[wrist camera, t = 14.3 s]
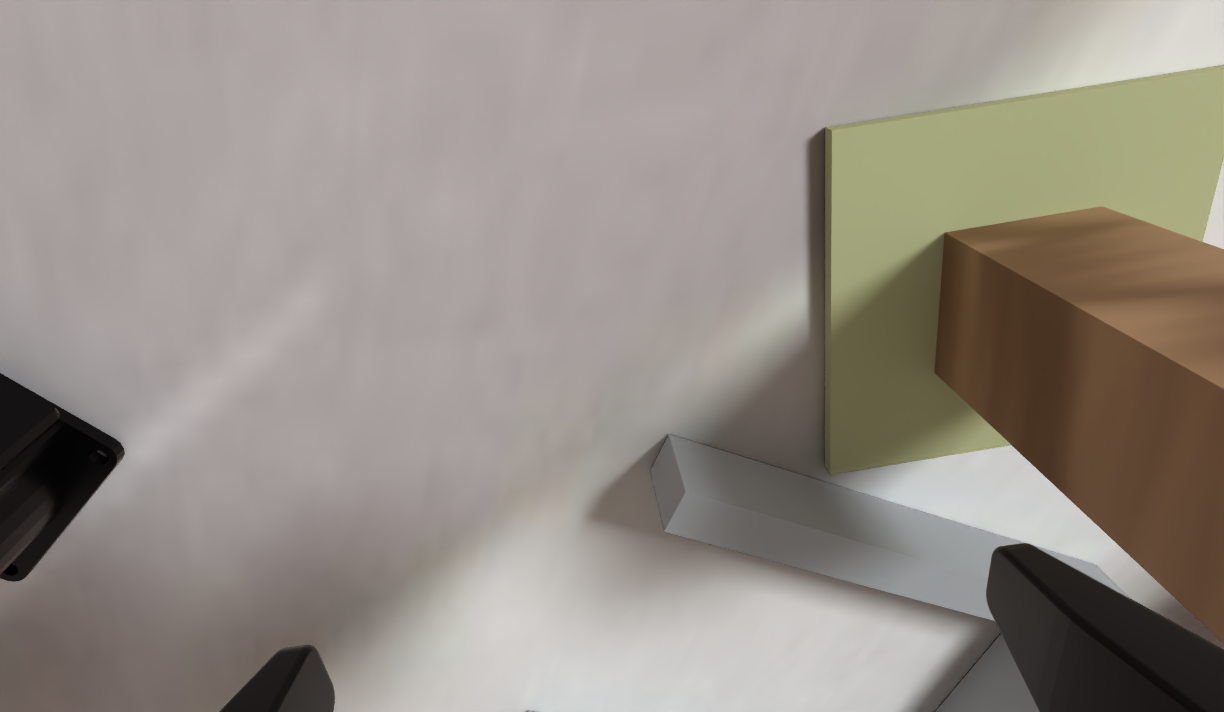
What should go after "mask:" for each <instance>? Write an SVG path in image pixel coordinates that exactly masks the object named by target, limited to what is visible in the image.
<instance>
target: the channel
mask: <svg viewBox="0 0 1224 712" xmlns="http://www.w3.org/2000/svg"><path fill="white" fill-rule="evenodd" d="M650 473H651V477H652V481H653V486H654V490H655V494H656V499H657V503H658V507H659V512H660V516H661V521H662V525H663V529H664V532H666V533H670V534H674V535H677V536H681V537H685V538H689V539H692V540H696V541H700V542H703V543H707V544H711V545H715V546H718V547H722V548H726V549H729V550H733V551H737V552H741V553H744V554H748V555H752V556H755V557H759V558H763V559H767V560H770V561H774V562H778V563H781V564H785V565H789V566H792V567H796V568H800V569H804V570H807V571H811V572H815V573H818V574H822V575H826V576H830V577H833V578H837V579H841V580H844V581H848V582H852V583H856V584H859V585H863V586H867V587H870V588H874V589H878V590H882V591H885V592H889V593H893V594H896V595H900V596H904V597H908V598H911V599H915V600H919V601H922V602H926V603H930V604H934V605H937V606H941V607H945V608H948V609H952V610H956V611H960V612H963V613H967V614H971V615H974V616H978V617H982V618H985V619H989V620H993V621H995V620H994V618H993V616H992V614H991V612H990V610H989V607H988V604H987V600H986V587H987V581H988V575H989V569H990V563H991V557H992V553H993V551H994V550H995V549H996V548H997V547H999V546H1006V545H1013V544H1020V543H1022V542H1019V541H1016V540H1013V539H1009V538H1006V537H1003V536H1000V535H996V534H993V533H990V532H986V531H983V530H980V529H977V528H973V527H970V526H967V525H964V524H960V523H957V522H954V521H951V520H947V519H944V518H941V517H938V516H934V515H931V514H928V513H925V512H921V511H918V510H915V509H911V508H908V507H905V506H902V505H898V504H895V503H892V502H889V501H885V500H882V499H879V498H876V497H872V496H869V495H866V494H863V493H859V492H856V491H853V490H850V489H846V488H843V487H840V486H836V485H833V484H830V483H827V482H823V481H820V480H817V479H814V478H810V477H807V476H804V475H801V474H797V473H794V472H791V471H788V470H784V469H781V468H778V467H775V466H771V465H768V464H765V463H761V462H758V461H755V460H752V459H748V458H745V457H742V456H739V455H735V454H732V453H729V452H726V451H722V450H719V449H716V448H713V447H709V446H706V445H703V444H700V443H696V442H693V441H690V440H686V439H683V438H680V437H677V436H673V435H670V434H669V435H668V437H667V439H666V441H665V443H664V445H663V447H662V448H661V450H660V452H659V454H658V456H657V458H656V460H655V462H654V464H653V466H652V468H651V470H650ZM1037 548H1038V549H1040V550H1042V551H1044V552H1046V553H1048V554H1049V555H1051V556H1053V557H1055V558H1057V559H1059V560H1060V561H1062V562H1064V563H1066V564H1068V565H1070V566H1071V567H1073V568H1075V569H1077V570H1079V571H1081V572H1082V573H1084V574H1086V575H1088V576H1090V577H1092V578H1093V579H1095V580H1097V581H1099V582H1101V583H1103V584H1104V585H1106V586H1108V587H1110V588H1112V589H1114V590H1115V591H1117V592H1119V593H1121V594H1123V595H1125V596H1126V597H1128V596H1127V595H1126V594H1125V593H1124V592H1123V591H1122V590H1121V589H1120V588H1119V587H1118V586H1117V585H1116V584H1115V583H1114V582H1113V581H1112V580H1111V579H1110V578H1109V577H1108V576H1107V575H1106V574H1105V573H1104V572H1103V571H1102V570H1101V569H1100V568H1099V567H1098V566H1097V565H1094V564H1091V563H1088V562H1084V561H1081V560H1078V559H1075V558H1071V557H1068V556H1065V555H1062V554H1058V553H1055V552H1052V551H1048V550H1045V549H1042V548H1039V547H1037ZM1128 598H1129V597H1128ZM528 712H533V711H528ZM935 712H1039V710H1038V708H1037V706H1036V704H1035V702H1034V700H1033V698H1032V696H1031V694H1030V692H1029V690H1028V688H1027V686H1026V684H1025V682H1024V680H1023V678H1022V676H1021V674H1020V672H1019V670H1018V667H1017V665H1016V663H1015V661H1014V659H1013V657H1012V655H1011V653H1010V651H1009V649H1008V647H1007V645H1006V643H1005V641H1004V639H1003V637H1002V635H1001V634H1000V636H999V637H998V638H997V639H996V640H995V641H994V643H993V644H992V645H991V646H990V647H989V649H988V650H987V651H986V652H985V653H984V654H983V656H982V657H981V658H980V659H979V660H978V662H977V663H976V664H975V665H974V666H973V667H972V669H971V670H970V671H969V672H968V673H967V675H966V676H965V677H964V678H963V679H962V680H961V682H960V683H959V684H958V685H957V686H956V688H955V689H954V690H953V691H952V692H951V693H950V695H949V696H948V697H947V698H946V699H945V701H944V702H943V703H942V704H941V705H940V707H939V708H938V709H937V710H936V711H935Z"/></svg>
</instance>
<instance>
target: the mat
mask: <svg viewBox="0 0 1224 712" xmlns="http://www.w3.org/2000/svg"><path fill="white" fill-rule="evenodd" d="M1223 158H1224V65H1220V66H1214V67H1208V68H1201V69H1195V70H1188V71H1182V72H1176V73H1169V74H1163V75H1157V76H1150V77H1144V78H1137V79H1131V80H1125V81H1118V82H1112V83H1106V84H1099V85H1093V86H1087V87H1080V88H1074V89H1067V90H1061V91H1055V92H1048V93H1042V94H1036V95H1029V96H1023V97H1016V98H1010V99H1004V100H997V101H991V102H985V103H978V104H972V105H965V106H959V107H953V108H946V109H940V110H934V111H927V112H921V113H915V114H908V115H902V116H895V117H889V118H883V119H876V120H870V121H864V122H857V123H851V124H844V125H838V126H832V127H825V467H826V469H827V470H828V472H829V474H830V475H833V474H839V473H845V472H851V471H857V470H863V469H869V468H875V467H881V466H887V465H893V464H900V463H906V462H912V461H918V460H924V459H930V458H936V457H942V456H948V455H954V454H960V453H966V452H972V451H978V450H984V449H990V448H996V447H1002V446H1008V445H1011V444H1010V443H1009V442H1008V441H1007V440H1006V439H1005V438H1003V437H1002V436H1001V435H1000V434H999V433H998V432H997V431H996V430H995V429H994V428H993V427H992V426H991V425H990V424H989V423H987V422H986V421H985V420H984V419H983V418H982V417H981V416H980V415H979V414H978V413H977V412H976V411H975V410H974V409H972V408H971V407H970V406H969V405H968V404H967V403H966V402H965V401H964V400H963V399H962V398H961V397H960V396H959V395H957V394H956V393H955V392H954V391H953V390H952V389H951V388H950V387H949V386H948V385H947V384H946V383H945V382H944V381H943V380H941V379H940V378H939V377H938V376H937V375H936V374H935V373H934V371H935V357H936V343H937V330H938V316H939V302H940V288H941V275H942V261H943V247H944V233H945V232H951V231H957V230H963V229H969V228H975V227H981V226H987V225H993V224H999V223H1005V222H1010V221H1016V220H1022V219H1028V218H1034V217H1040V216H1046V215H1052V214H1058V213H1064V212H1070V211H1076V210H1082V209H1088V208H1094V207H1100V206H1103V207H1105V208H1108V209H1111V210H1114V211H1117V212H1120V213H1122V214H1125V215H1128V216H1131V217H1134V218H1136V219H1139V220H1142V221H1145V222H1148V223H1151V224H1153V225H1156V226H1159V227H1162V228H1165V229H1167V230H1170V231H1173V232H1176V233H1179V234H1181V235H1184V236H1187V237H1190V238H1193V239H1196V240H1198V241H1201V242H1202V241H1203V237H1204V233H1205V229H1206V225H1207V221H1208V217H1209V214H1210V210H1211V206H1212V202H1213V198H1214V194H1215V190H1216V186H1217V182H1218V178H1219V174H1220V170H1221V166H1222V162H1223Z"/></svg>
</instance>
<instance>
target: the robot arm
mask: <svg viewBox="0 0 1224 712" xmlns="http://www.w3.org/2000/svg"><path fill="white" fill-rule="evenodd" d="M97 450H100V451H103V452H104V453H105V454H106V455H107V457H106V456H103V455H101V454H100V453H99V452H98V451H97ZM124 454H125V453H124V448H123V446H122V445H121V443H120V442H118V441H117V440H116V439H114V438H113V437H111V436H109V435H107V434H106V433H104V432H102V431H100V430H99V429H97V428H95V427H93V426H92V425H90V424H88V423H86V422H85V421H83V420H81V419H79V418H78V417H76V416H74V415H72V414H71V413H69V412H67V411H65V410H64V409H62V408H60V407H58V406H57V405H55V404H53V403H51V402H50V401H48V400H46V399H44V398H43V397H41V396H39V395H37V394H36V393H34V392H32V391H30V390H29V389H27V388H25V387H23V386H22V385H20V384H18V383H16V382H15V381H13V380H11V379H9V378H8V377H6V376H4V375H2V374H1V373H0V578H1V579H4V580H7V581H20V580H22V579H24V578H25V577H26V576H27V575H28V574H29V573H30V572H31V571H32V570H33V569H34V567H35V566H36V565H37V564H38V562H39V561H40V560H41V559H42V557H43V556H44V555H45V554H46V553H47V551H48V550H49V549H50V548H51V546H52V545H53V544H54V543H55V541H56V540H57V539H58V538H59V536H60V535H61V534H62V533H63V532H64V530H65V529H66V528H67V527H68V525H69V524H70V523H71V522H72V520H73V519H74V518H75V517H76V516H77V514H78V513H79V512H80V511H81V509H82V508H83V507H84V506H85V504H86V503H87V502H88V501H89V499H90V498H91V497H92V496H93V495H94V493H95V492H96V491H97V490H98V488H99V487H100V486H101V485H102V483H103V482H104V481H105V480H106V479H107V477H108V476H109V475H110V474H111V472H112V471H113V470H114V469H115V467H116V466H117V465H118V464H119V462H120V461H121V460H122V459H123V456H124ZM13 564H14V565H13ZM986 600H987V604H988V607H989V610H990V612H991V614H992V616H993V618H994V620H995V622H996V624H997V627H998V629H999V631H1000V633H1001V635H1002V637H1003V639H1004V641H1005V643H1006V645H1007V647H1008V649H1009V651H1010V653H1011V655H1012V657H1013V659H1014V661H1015V663H1016V665H1017V667H1018V670H1019V672H1020V674H1021V676H1022V678H1023V680H1024V682H1025V684H1026V686H1027V688H1028V690H1029V692H1030V694H1031V696H1032V698H1033V700H1034V702H1035V704H1036V706H1037V708H1038V710H1039V712H1224V650H1223V649H1222V648H1220V647H1218V646H1216V645H1214V644H1212V643H1211V642H1209V641H1207V640H1205V639H1203V638H1201V637H1200V636H1198V635H1196V634H1194V633H1192V632H1190V631H1189V630H1187V629H1185V628H1183V627H1181V626H1179V625H1178V624H1176V623H1174V622H1172V621H1170V620H1168V619H1167V618H1165V617H1163V616H1161V615H1159V614H1157V613H1156V612H1154V611H1152V610H1150V609H1148V608H1146V607H1145V606H1143V605H1141V604H1139V603H1137V602H1136V601H1134V600H1132V599H1130V598H1128V597H1126V596H1125V595H1123V594H1121V593H1119V592H1117V591H1115V590H1114V589H1112V588H1110V587H1108V586H1106V585H1104V584H1103V583H1101V582H1099V581H1097V580H1095V579H1093V578H1092V577H1090V576H1088V575H1086V574H1084V573H1082V572H1081V571H1079V570H1077V569H1075V568H1073V567H1071V566H1070V565H1068V564H1066V563H1064V562H1062V561H1060V560H1059V559H1057V558H1055V557H1053V556H1051V555H1049V554H1048V553H1046V552H1044V551H1042V550H1040V549H1038V548H1037V547H1035V546H1033V545H1030V544H1027V543H1020V544H1013V545H1006V546H999V547H997V548H996V549H995V550H994V551H993V553H992V557H991V563H990V569H989V575H988V581H987V587H986ZM334 703H335V694H334V687H333V684H332V682H331V679H330V677H329V675H328V673H327V670H326V668H325V666H324V664H323V661H322V659H321V657H320V655H319V652H318V651H317V649H316V648H315V647H314V646H312V645H303V646H296V647H289V648H284V649H281V650H280V651H278V652H277V653H276V654H275V655H274V656H273V657H272V658H271V659H270V660H269V661H268V662H267V663H266V664H265V665H264V666H263V667H262V668H261V669H260V670H259V671H258V672H257V673H256V674H255V675H254V676H253V677H252V678H251V679H250V681H249V682H248V683H247V684H246V685H245V686H244V687H243V688H242V689H241V690H240V691H239V692H238V693H237V694H236V695H235V696H234V697H233V698H232V699H231V700H230V701H229V702H228V703H227V704H226V705H225V706H224V707H223V708H222V709H221V710H220V711H219V712H333V711H334Z"/></svg>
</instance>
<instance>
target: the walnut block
mask: <svg viewBox="0 0 1224 712" xmlns="http://www.w3.org/2000/svg"><path fill="white" fill-rule="evenodd" d="M934 373H935V374H936V375H937V376H938V377H939V378H940V379H941V380H943V381H944V382H945V383H946V384H947V385H948V386H949V387H950V388H951V389H952V390H953V391H954V392H955V393H956V394H957V395H959V396H960V397H961V398H962V399H963V400H964V401H965V402H966V403H967V404H968V405H969V406H970V407H971V408H972V409H974V410H975V411H976V412H977V413H978V414H979V415H980V416H981V417H982V418H983V419H984V420H985V421H986V422H987V423H989V424H990V425H991V426H992V427H993V428H994V429H995V430H996V431H997V432H998V433H999V434H1000V435H1001V436H1002V437H1003V438H1005V439H1006V440H1007V441H1008V442H1009V443H1010V444H1011V445H1012V446H1013V447H1014V448H1015V449H1016V450H1017V451H1018V452H1020V453H1021V454H1022V455H1023V456H1024V457H1025V458H1026V459H1027V460H1028V461H1029V462H1030V463H1031V464H1032V465H1033V466H1034V467H1036V468H1037V469H1038V470H1039V471H1040V472H1041V473H1042V474H1043V475H1044V476H1045V477H1046V478H1047V479H1048V480H1049V481H1051V482H1052V483H1053V484H1054V485H1055V486H1056V487H1057V488H1058V489H1059V490H1060V491H1061V492H1062V493H1063V494H1064V495H1066V496H1067V497H1068V498H1069V499H1070V500H1071V501H1072V502H1073V503H1074V504H1075V505H1076V506H1077V507H1078V508H1079V509H1080V510H1082V511H1083V512H1084V513H1085V514H1086V515H1087V516H1088V517H1089V518H1090V519H1091V520H1092V521H1093V522H1094V523H1095V524H1097V525H1098V526H1099V527H1100V528H1101V529H1102V530H1103V531H1104V532H1105V533H1106V534H1107V535H1108V536H1109V537H1110V538H1111V539H1113V540H1114V541H1115V542H1116V543H1117V544H1118V545H1119V546H1120V547H1121V548H1122V549H1123V550H1124V551H1125V552H1126V553H1128V554H1129V555H1130V556H1131V557H1132V558H1133V559H1134V560H1135V561H1136V562H1137V563H1138V564H1139V565H1140V566H1141V567H1143V568H1144V569H1145V570H1146V571H1147V572H1148V573H1149V574H1150V575H1151V576H1152V577H1153V578H1154V579H1155V580H1156V581H1157V582H1159V583H1160V584H1161V585H1162V586H1163V587H1164V588H1165V589H1166V590H1167V591H1168V592H1169V593H1170V594H1171V595H1172V596H1174V597H1175V598H1176V599H1177V600H1178V601H1179V602H1180V603H1181V604H1182V605H1183V606H1184V607H1185V608H1186V609H1187V610H1188V611H1190V612H1191V613H1192V614H1193V615H1194V616H1195V617H1196V618H1197V619H1198V620H1199V621H1200V622H1201V623H1202V624H1203V625H1205V626H1206V627H1207V628H1208V629H1209V630H1210V631H1211V632H1212V633H1213V634H1214V635H1215V636H1216V637H1217V638H1218V639H1220V640H1221V641H1222V642H1223V643H1224V249H1221V248H1218V247H1215V246H1212V245H1210V244H1207V243H1204V242H1201V241H1198V240H1196V239H1193V238H1190V237H1187V236H1184V235H1181V234H1179V233H1176V232H1173V231H1170V230H1167V229H1165V228H1162V227H1159V226H1156V225H1153V224H1151V223H1148V222H1145V221H1142V220H1139V219H1136V218H1134V217H1131V216H1128V215H1125V214H1122V213H1120V212H1117V211H1114V210H1111V209H1108V208H1105V207H1103V206H1100V207H1094V208H1088V209H1082V210H1076V211H1070V212H1064V213H1058V214H1052V215H1046V216H1040V217H1034V218H1028V219H1022V220H1016V221H1010V222H1005V223H999V224H993V225H987V226H981V227H975V228H969V229H963V230H957V231H951V232H945V233H944V247H943V261H942V275H941V288H940V302H939V316H938V330H937V343H936V357H935V371H934Z"/></svg>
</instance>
